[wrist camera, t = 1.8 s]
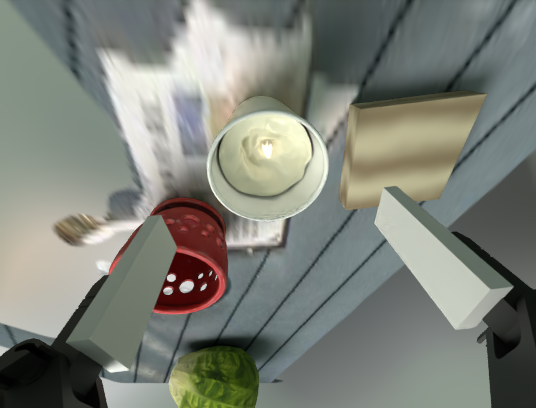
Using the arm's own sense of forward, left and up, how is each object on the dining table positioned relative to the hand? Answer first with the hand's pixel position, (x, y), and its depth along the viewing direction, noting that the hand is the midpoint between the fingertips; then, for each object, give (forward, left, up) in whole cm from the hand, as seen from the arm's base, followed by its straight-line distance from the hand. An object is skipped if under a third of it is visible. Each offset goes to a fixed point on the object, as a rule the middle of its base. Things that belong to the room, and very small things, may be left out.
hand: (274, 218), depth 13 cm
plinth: (+5, +18, -17) cm, 25 cm away
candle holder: (0, 0, -17) cm, 17 cm away
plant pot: (+13, -13, -17) cm, 25 cm away
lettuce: (+61, -20, -17) cm, 66 cm away
